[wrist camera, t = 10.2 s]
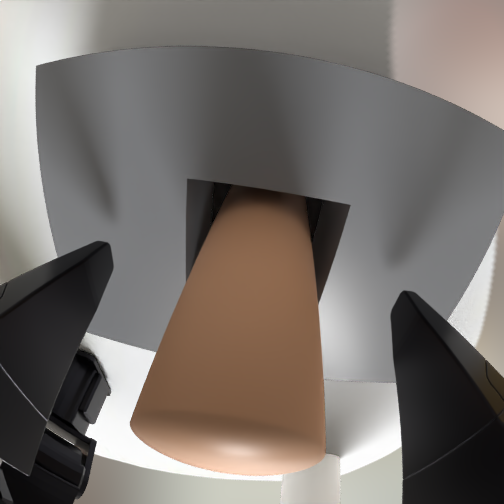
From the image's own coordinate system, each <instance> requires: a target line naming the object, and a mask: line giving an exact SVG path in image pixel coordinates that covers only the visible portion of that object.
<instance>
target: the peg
mask: <svg viewBox="0 0 504 504" xmlns="http://www.w3.org/2000/svg"><path fill="white" fill-rule="evenodd" d="M130 427H131V429H132V431H133V432H134V434H135V435H136V436H137V437H138V438H139V439H140V440H141V441H143V442H144V443H145V444H147V445H148V446H149V447H151V448H153V449H154V450H156V451H158V452H160V453H162V454H164V455H166V456H168V457H170V458H172V459H175V460H177V461H180V462H182V463H185V464H188V465H191V466H195V467H198V468H202V469H206V470H211V471H215V472H221V473H227V474H236V475H249V476H268V475H281V474H288V473H293V472H298V471H301V470H305V469H307V468H310V467H312V466H314V465H316V464H318V463H319V462H321V461H322V460H323V458H324V457H325V455H326V435H325V401H324V379H323V361H322V346H321V332H320V320H319V308H318V297H317V287H316V277H315V268H314V259H313V251H312V242H311V234H310V227H309V219H308V212H307V205H306V198H305V196H302V195H296V194H291V193H285V192H279V191H273V190H267V189H261V188H254V187H248V186H241V185H234V184H232V185H231V187H230V189H229V191H228V193H227V195H226V197H225V199H224V201H223V203H222V205H221V207H220V210H219V212H218V214H217V216H216V218H215V220H214V222H213V224H212V226H211V229H210V231H209V233H208V235H207V237H206V239H205V241H204V244H203V246H202V248H201V250H200V252H199V255H198V257H197V259H196V261H195V263H194V266H193V268H192V270H191V272H190V275H189V277H188V279H187V281H186V284H185V286H184V288H183V291H182V293H181V295H180V297H179V300H178V302H177V304H176V307H175V309H174V312H173V314H172V316H171V319H170V321H169V323H168V326H167V328H166V331H165V333H164V335H163V338H162V340H161V343H160V345H159V348H158V350H157V353H156V355H155V358H154V360H153V363H152V365H151V368H150V370H149V373H148V375H147V378H146V380H145V383H144V386H143V388H142V391H141V394H140V396H139V399H138V402H137V404H136V407H135V410H134V412H133V415H132V418H131V421H130Z"/></svg>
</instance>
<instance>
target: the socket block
mask: <svg viewBox="0 0 504 504" xmlns="http://www.w3.org/2000/svg"><path fill="white" fill-rule="evenodd" d="M36 127H37V142H38V153H39V162H40V170H41V178H42V184H43V191H44V197H45V203H46V208H47V213H48V218H49V223H50V227H51V232H52V236H53V240H54V244H55V248H56V252H57V256H58V258H59V257H61V256H63V255H65V254H67V253H70V252H72V251H74V250H76V249H79V248H81V247H83V246H86V245H88V244H90V243H93V242H95V241H104V242H108V243H109V244H110V245H111V250H112V257H113V263H114V269H113V272H112V275H111V277H110V279H109V282H108V284H107V287H106V289H105V291H104V294H103V296H102V299H101V301H100V304H99V306H98V309H97V311H96V313H95V315H94V317H93V319H92V321H91V323H90V325H89V327H88V329H87V331H86V332H88V333H91V334H94V335H98V336H101V337H104V338H107V339H111V340H114V341H117V342H121V343H124V344H128V345H131V346H135V347H139V348H142V349H146V350H150V351H154V352H157V350H158V348H159V345H160V343H161V340H162V338H163V335H164V333H165V331H166V328H167V326H168V323H169V321H170V319H171V316H172V314H173V312H174V309H175V307H176V304H177V302H178V300H179V297H180V295H181V293H182V291H183V288H184V286H185V284H186V281H187V279H188V277H189V275H190V272H191V270H192V268H193V266H194V263H195V261H196V259H197V257H198V255H199V252H200V250H201V248H202V246H203V244H204V241H205V239H206V237H207V235H208V233H209V231H210V229H211V220H212V205H213V192H214V182H220V183H227V184H234V185H241V186H248V187H254V188H261V189H267V190H273V191H279V192H285V193H291V194H296V195H302V196H308V197H313V198H318V199H323V203H322V207H321V211H320V215H319V219H318V223H317V227H316V230H315V234H314V238H313V242H312V251H313V259H314V268H315V277H316V287H317V297H318V308H319V320H320V332H321V346H322V361H323V379H324V380H337V381H354V382H383V383H396V377H395V370H394V362H393V351H392V333H391V319H390V314H391V310H392V308H393V306H394V304H395V302H396V300H397V298H398V296H399V295H400V293H401V292H402V291H403V290H407V291H413V292H415V293H417V294H418V295H419V296H420V297H421V298H422V299H423V300H424V301H426V302H427V303H428V304H429V305H430V306H431V307H432V308H433V309H434V310H435V311H436V312H438V313H439V314H440V315H441V316H442V317H443V318H444V319H445V320H446V321H447V320H448V318H449V317H450V315H451V314H452V312H453V310H454V309H455V307H456V306H457V304H458V302H459V301H460V299H461V298H462V296H463V294H464V292H465V291H466V289H467V287H468V286H469V284H470V282H471V280H472V279H473V277H474V275H475V273H476V271H477V269H478V267H479V266H480V264H481V262H482V260H483V258H484V256H485V254H486V252H487V250H488V248H489V246H490V244H491V241H492V239H493V237H494V235H495V233H496V230H497V228H498V226H499V224H500V221H501V219H502V216H503V214H504V130H502V129H500V128H499V127H497V126H495V125H493V124H492V123H490V122H488V121H486V120H485V119H483V118H481V117H479V116H477V115H475V114H473V113H471V112H469V111H467V110H465V109H463V108H461V107H459V106H457V105H455V104H453V103H451V102H448V101H446V100H444V99H441V98H439V97H437V96H435V95H432V94H430V93H427V92H425V91H422V90H420V89H417V88H415V87H412V86H409V85H406V84H404V83H401V82H398V81H395V80H392V79H389V78H386V77H383V76H380V75H377V74H373V73H370V72H367V71H363V70H360V69H356V68H352V67H348V66H344V65H340V64H336V63H332V62H327V61H323V60H318V59H313V58H308V57H303V56H297V55H291V54H284V53H278V52H270V51H262V50H253V49H242V48H229V47H208V46H169V47H148V48H135V49H124V50H116V51H108V52H101V53H94V54H88V55H82V56H77V57H72V58H67V59H62V60H58V61H53V62H49V63H45V64H41V65H38V66H36Z"/></svg>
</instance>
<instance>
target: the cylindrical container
mask: <svg viewBox="0 0 504 504" xmlns="http://www.w3.org/2000/svg"><path fill="white" fill-rule="evenodd" d="M280 504H340V457H339V456H337V455H333V454H326V455H325V457H324V458H323V460H322V461H321V462H319V463H318V464H316V465H314V466H312V467H310V468H307V469H305V470H301V471H298V472H293V473H288V474H283V478H282V490H281V501H280Z"/></svg>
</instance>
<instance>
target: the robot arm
mask: <svg viewBox="0 0 504 504" xmlns="http://www.w3.org/2000/svg"><path fill="white" fill-rule="evenodd" d="M113 269H114V263H113V257H112V250H111V245H110V244H109V243H108V242H104V241H95V242H93V243H90V244H88V245H86V246H83V247H81V248H79V249H76V250H74V251H72V252H70V253H67V254H65V255H63V256H61V257H59V258H56V259H54V260H52V261H50V262H48V263H45V264H43V265H41V266H39V267H37V268H35V269H33V270H31V271H29V272H27V273H24V274H22V275H20V276H18V277H16V278H14V279H12V280H10V281H9V282H8V283H7V282H6V283H4V284H2V285H0V504H73V502H74V500H75V499H79V498H80V497H81V496H82V494H83V493H84V491H85V489H86V486H87V484H88V480H89V475H90V470H91V465H92V461H93V456H94V452H95V447H96V443H97V441H95V440H94V439H92V438H88V437H87V436H85V433H86V431H87V429H88V426H89V424H94V423H95V422H96V420H97V417H98V415H99V413H100V410H101V408H102V405H103V403H104V401H105V399H106V396H110V394H111V390H110V388H109V386H108V384H107V382H106V380H105V378H104V376H103V374H102V372H101V369H100V367H99V365H98V363H97V361H96V359H95V357H93V356H92V355H90V354H87V353H85V352H82V351H79V350H78V348H79V345H80V343H81V341H82V339H83V337H84V335H85V333H86V331H87V329H88V327H89V325H90V323H91V321H92V319H93V317H94V315H95V313H96V311H97V309H98V306H99V304H100V301H101V299H102V296H103V294H104V291H105V289H106V287H107V284H108V282H109V279H110V277H111V275H112V272H113ZM390 319H391V333H392V351H393V362H394V370H395V377H396V385H397V394H398V403H399V413H400V425H401V441H402V464H403V479H404V480H403V493H402V494H403V495H402V504H504V378H503V377H502V376H501V375H500V374H499V373H498V372H497V370H495V368H494V367H493V366H492V365H491V364H490V363H489V362H488V361H487V360H486V361H485V358H484V357H483V356H482V355H481V354H480V353H479V352H478V351H477V350H476V349H475V348H474V347H473V346H472V345H471V344H470V343H469V342H468V341H467V340H466V339H465V338H464V337H463V336H462V335H461V334H460V333H459V332H458V331H457V330H456V329H455V328H454V327H452V326H451V325H450V324H449V323H448V322H447V321H446V320H445V319H444V318H443V317H442V316H441V315H440V314H439V313H438V312H436V311H435V310H434V309H433V308H432V307H431V306H430V305H429V304H428V303H427V302H426V301H424V300H423V299H422V298H421V297H420V296H419V295H418V294H417V293H415V292H413V291H407V290H403V291H402V292H401V293H400V295H399V296H398V298H397V300H396V302H395V304H394V306H393V308H392V310H391V314H390ZM46 427H47V428H49V429H50V430H52V431H53V432H55V433H56V434H58V435H60V436H61V437H63V438H64V439H66V440H68V441H69V442H71V443H73V444H74V445H73V444H71V443H69V442H68V441H66V440H64V439H63V438H61V437H60V436H58V435H56V434H54V433H53V432H52V431H50V430H49V429H47V428H46Z"/></svg>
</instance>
